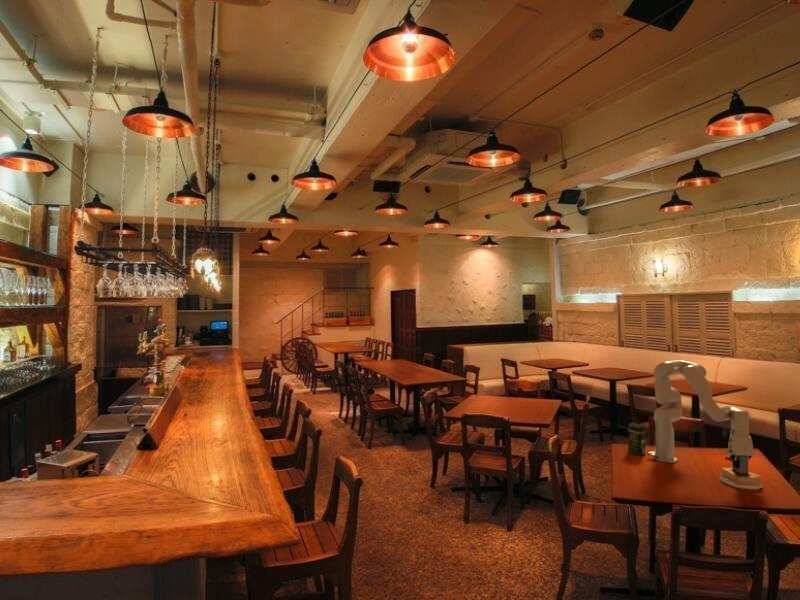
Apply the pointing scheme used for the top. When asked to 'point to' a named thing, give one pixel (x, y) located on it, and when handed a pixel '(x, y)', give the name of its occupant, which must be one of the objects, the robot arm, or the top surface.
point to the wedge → (742, 466)
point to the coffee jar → (636, 439)
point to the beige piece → (740, 479)
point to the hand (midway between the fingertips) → (740, 467)
